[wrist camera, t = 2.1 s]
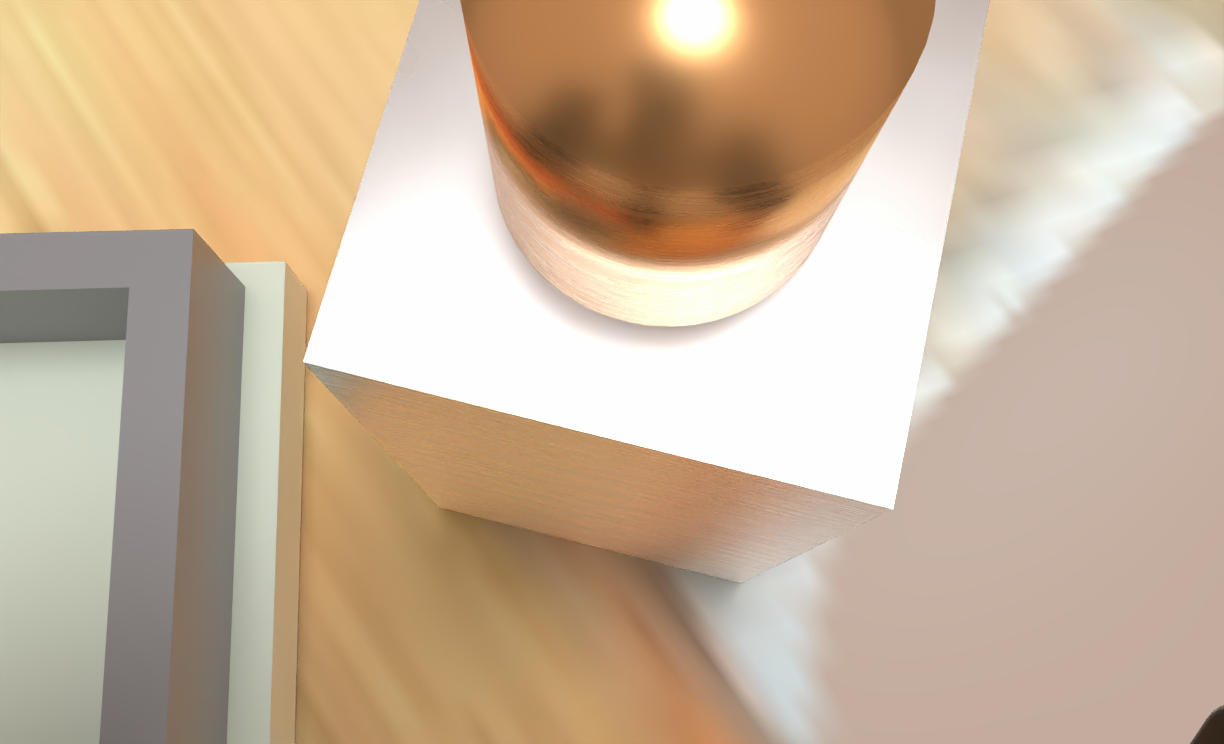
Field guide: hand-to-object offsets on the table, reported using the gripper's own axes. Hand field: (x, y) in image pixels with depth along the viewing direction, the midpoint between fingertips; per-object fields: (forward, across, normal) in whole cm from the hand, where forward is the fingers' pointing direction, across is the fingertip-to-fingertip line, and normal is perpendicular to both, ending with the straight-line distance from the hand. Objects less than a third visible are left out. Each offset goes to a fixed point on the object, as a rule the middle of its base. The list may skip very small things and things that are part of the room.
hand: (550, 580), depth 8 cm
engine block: (+10, 0, +5) cm, 11 cm away
